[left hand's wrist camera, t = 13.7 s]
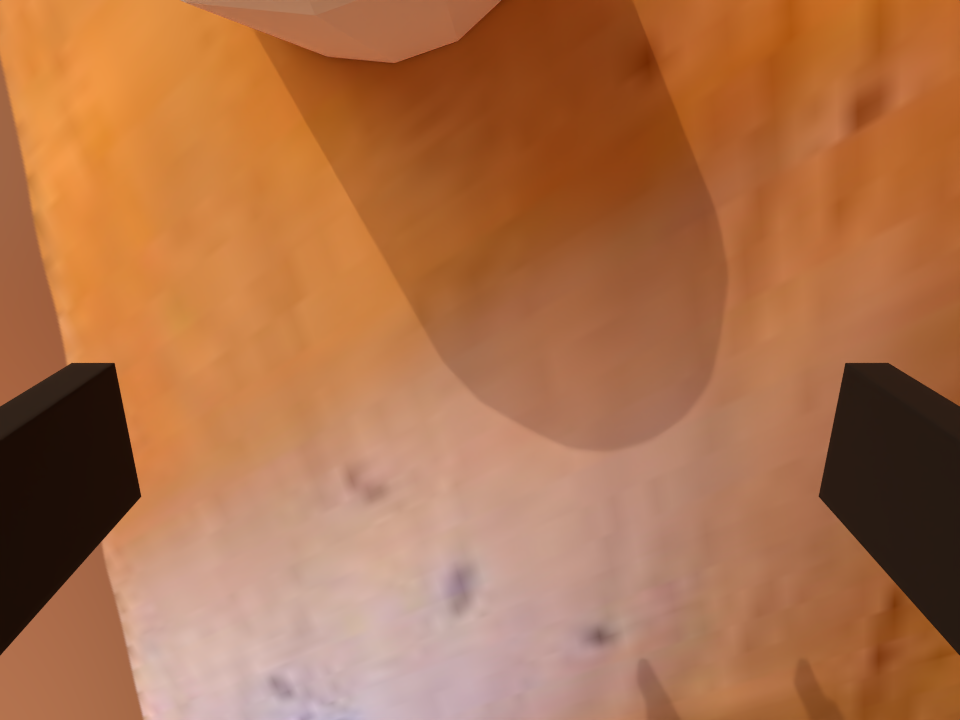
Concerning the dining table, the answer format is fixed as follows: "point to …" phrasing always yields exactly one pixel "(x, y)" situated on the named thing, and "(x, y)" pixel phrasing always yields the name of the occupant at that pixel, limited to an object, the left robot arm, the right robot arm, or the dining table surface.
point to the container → (357, 24)
